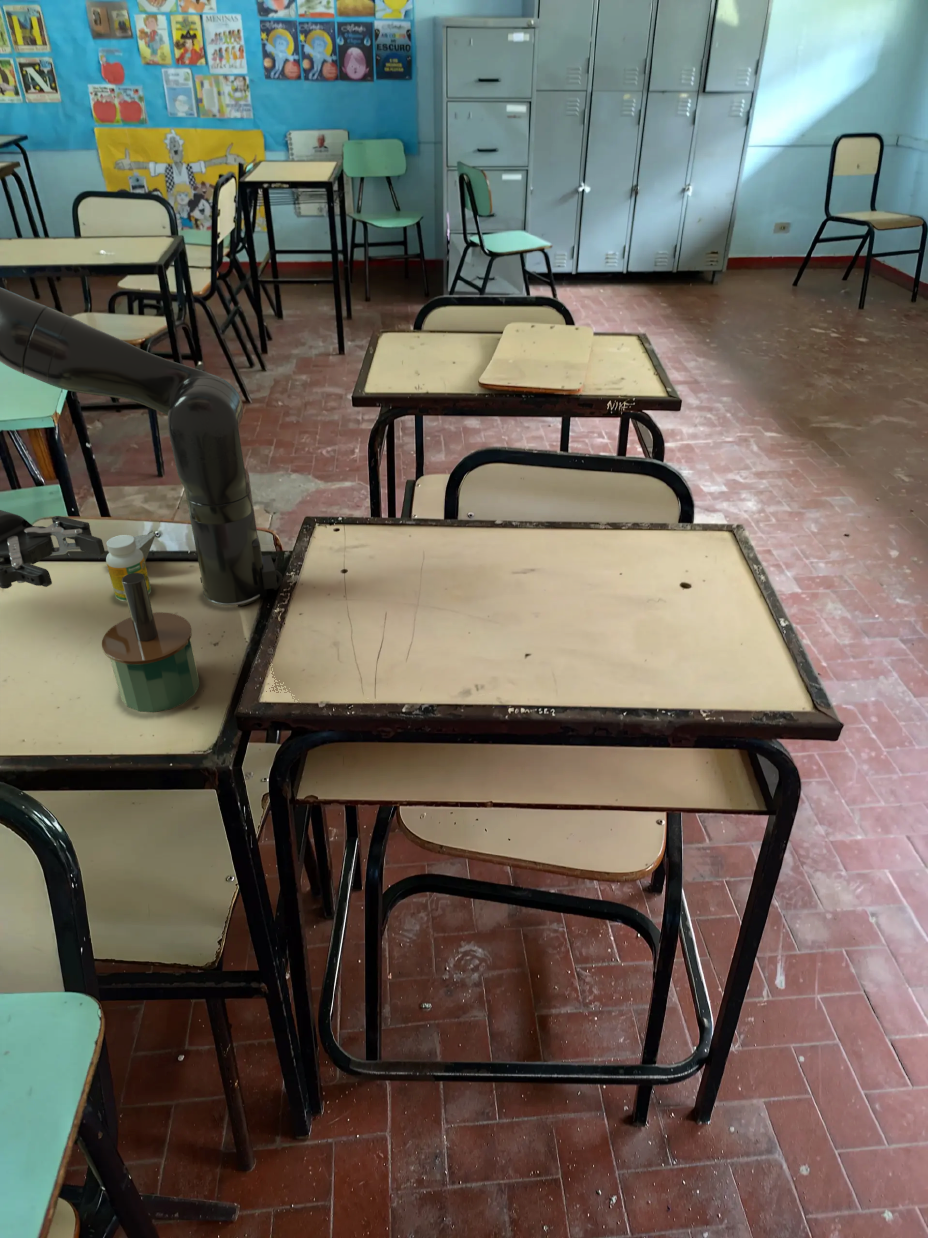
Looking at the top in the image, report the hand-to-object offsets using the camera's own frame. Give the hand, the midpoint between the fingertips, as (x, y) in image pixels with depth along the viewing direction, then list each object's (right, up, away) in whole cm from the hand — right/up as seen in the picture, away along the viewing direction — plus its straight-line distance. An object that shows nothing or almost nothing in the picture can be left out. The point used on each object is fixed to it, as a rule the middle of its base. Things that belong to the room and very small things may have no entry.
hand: (76, 563), depth 106 cm
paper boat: (-5, +2, +33) cm, 34 cm away
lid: (+9, -10, +1) cm, 13 cm away
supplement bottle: (-3, -3, +25) cm, 26 cm away
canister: (+9, -17, +6) cm, 20 cm away
